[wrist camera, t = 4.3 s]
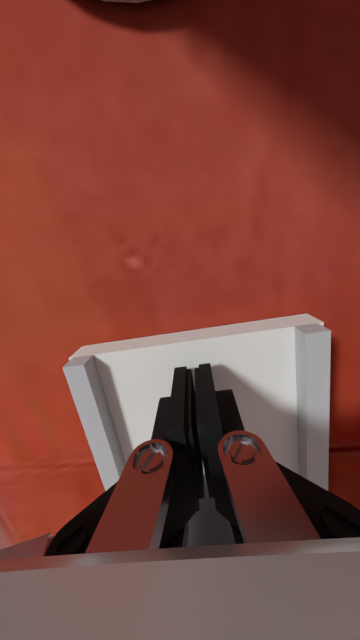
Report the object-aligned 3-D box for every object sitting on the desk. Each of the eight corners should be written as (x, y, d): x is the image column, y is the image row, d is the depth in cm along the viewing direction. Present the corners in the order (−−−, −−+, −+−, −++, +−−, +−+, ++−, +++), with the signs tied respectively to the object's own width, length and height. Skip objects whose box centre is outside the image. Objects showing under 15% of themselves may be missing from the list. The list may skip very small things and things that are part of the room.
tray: (82, 346, 13) (57, 368, 10) (306, 313, 11) (337, 329, 9) (171, 632, 20) (169, 683, 18) (310, 628, 19) (328, 681, 17)
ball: (163, 455, 13) (146, 579, 8) (254, 446, 12) (296, 571, 7) (178, 518, 14) (172, 656, 9) (260, 512, 14) (299, 654, 9)
